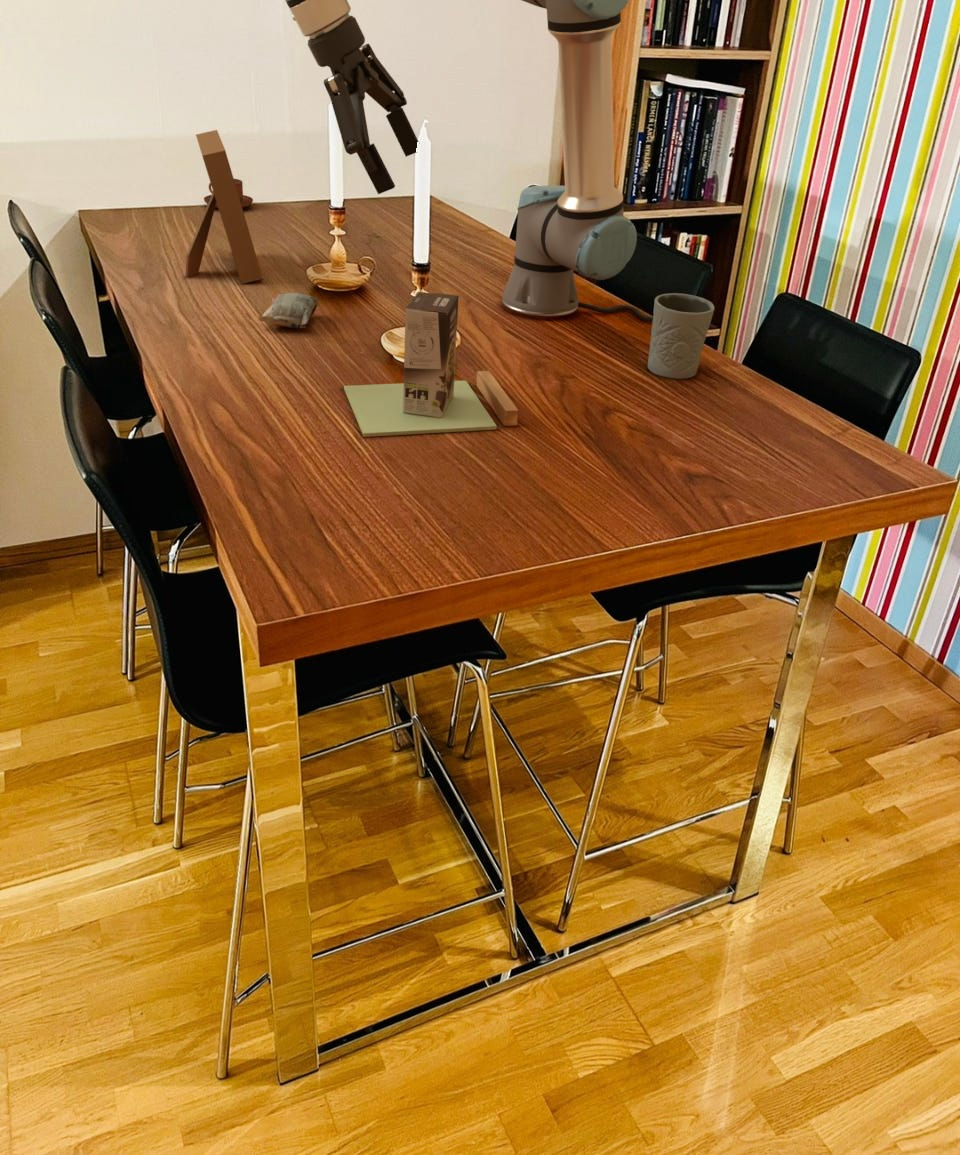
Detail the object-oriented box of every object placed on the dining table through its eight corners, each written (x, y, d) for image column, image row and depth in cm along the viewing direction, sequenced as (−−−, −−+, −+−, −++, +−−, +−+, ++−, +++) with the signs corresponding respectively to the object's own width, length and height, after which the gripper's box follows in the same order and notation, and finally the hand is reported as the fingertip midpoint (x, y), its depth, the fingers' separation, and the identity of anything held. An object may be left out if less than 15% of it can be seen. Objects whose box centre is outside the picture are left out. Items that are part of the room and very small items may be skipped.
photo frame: (252, 253, 219) (245, 130, 206) (263, 283, 202) (256, 150, 189) (182, 254, 215) (169, 128, 202) (186, 285, 198) (174, 149, 185)
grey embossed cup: (666, 355, 181) (678, 289, 175) (713, 372, 176) (727, 305, 169) (632, 367, 175) (642, 299, 169) (679, 385, 169) (691, 316, 163)
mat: (465, 383, 164) (466, 380, 164) (496, 429, 150) (496, 425, 149) (343, 389, 159) (343, 385, 158) (363, 437, 144) (363, 433, 144)
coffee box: (443, 418, 150) (448, 312, 141) (401, 413, 151) (403, 307, 142) (455, 396, 158) (460, 294, 149) (415, 391, 158) (418, 289, 150)
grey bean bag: (259, 331, 178) (258, 304, 176) (273, 310, 188) (272, 284, 186) (308, 336, 178) (308, 308, 176) (319, 314, 188) (319, 288, 186)
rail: (488, 385, 164) (489, 370, 163) (517, 425, 151) (518, 410, 150) (476, 385, 164) (477, 371, 162) (504, 426, 151) (505, 410, 149)
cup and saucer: (196, 209, 249) (194, 183, 246) (215, 199, 259) (213, 174, 256) (243, 214, 248) (241, 188, 244) (260, 204, 258) (258, 179, 254)
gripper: (337, 10, 149) (404, 146, 161) (272, 67, 132) (352, 215, 144) (379, -11, 145) (444, 130, 157) (318, 45, 128) (396, 198, 140)
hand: (400, 171), depth 150 cm, fingers open, 13 cm apart
